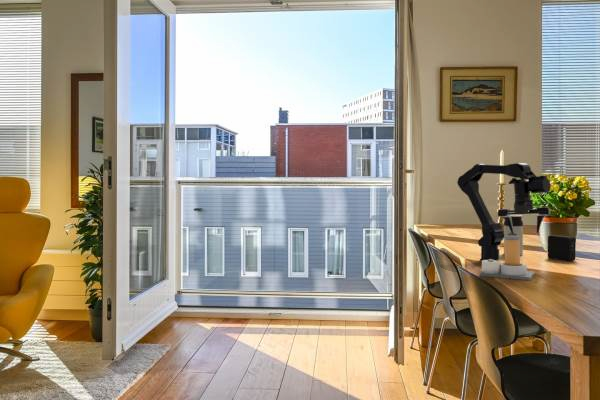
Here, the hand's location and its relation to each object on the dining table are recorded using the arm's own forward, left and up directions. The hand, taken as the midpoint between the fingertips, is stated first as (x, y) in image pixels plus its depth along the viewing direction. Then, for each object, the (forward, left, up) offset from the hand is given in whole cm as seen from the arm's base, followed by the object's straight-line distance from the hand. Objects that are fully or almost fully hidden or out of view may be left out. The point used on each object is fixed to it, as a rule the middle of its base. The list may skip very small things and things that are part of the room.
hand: (525, 233), depth 200 cm
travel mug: (-9, +28, -13) cm, 32 cm away
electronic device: (+11, +22, -13) cm, 28 cm away
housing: (-2, -25, -13) cm, 28 cm away
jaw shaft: (-1, -25, -12) cm, 28 cm away
